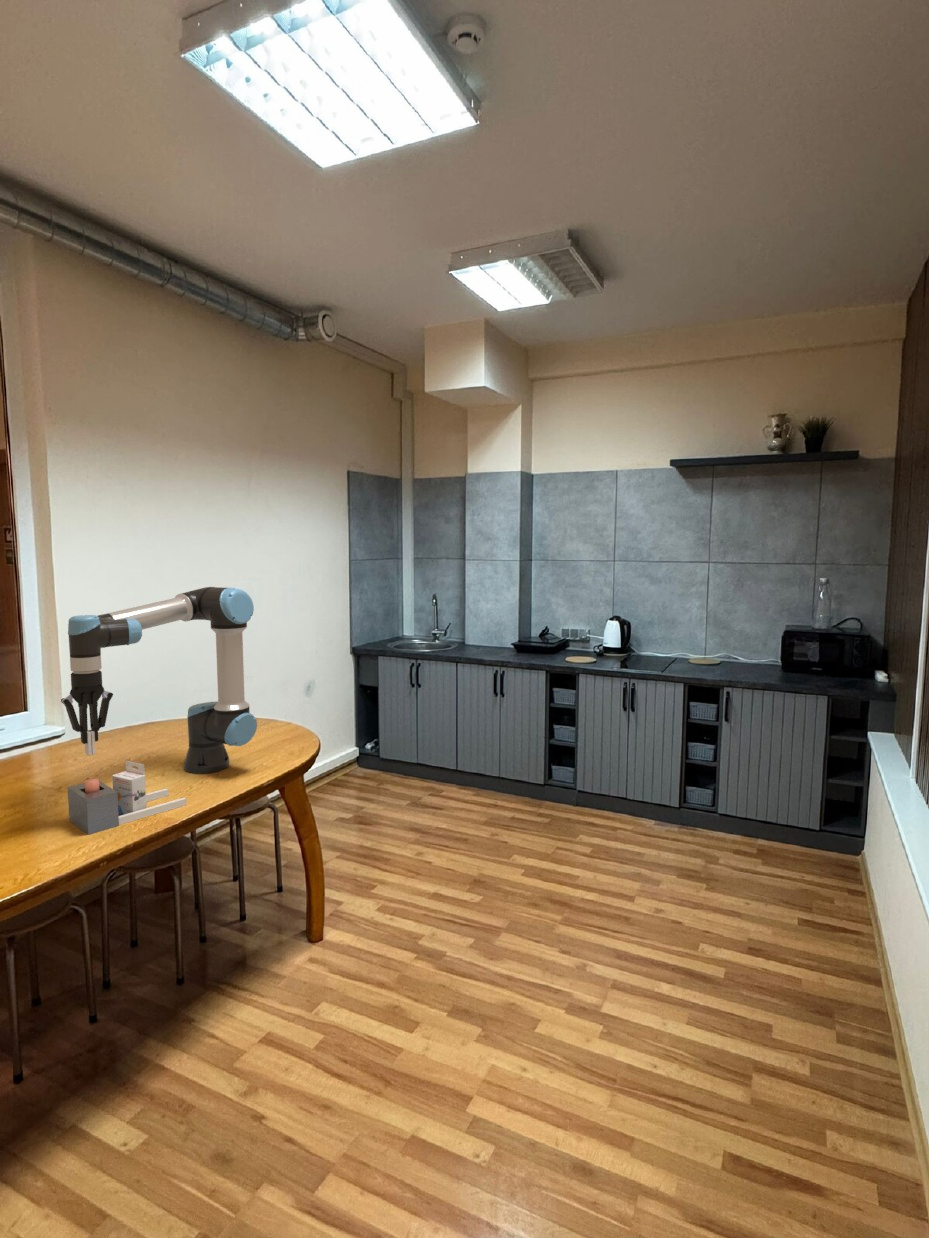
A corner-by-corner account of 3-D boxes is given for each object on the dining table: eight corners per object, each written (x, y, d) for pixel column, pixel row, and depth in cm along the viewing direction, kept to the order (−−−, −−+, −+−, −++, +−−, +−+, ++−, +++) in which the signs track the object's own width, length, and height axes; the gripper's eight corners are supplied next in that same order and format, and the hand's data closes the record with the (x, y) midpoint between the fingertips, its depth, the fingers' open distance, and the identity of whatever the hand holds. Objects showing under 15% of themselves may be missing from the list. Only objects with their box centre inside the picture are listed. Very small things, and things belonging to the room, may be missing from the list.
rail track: (166, 794, 212) (166, 788, 212) (186, 804, 204) (186, 798, 203) (99, 812, 197) (99, 806, 197) (118, 825, 189) (117, 818, 188)
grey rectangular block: (99, 812, 197) (97, 779, 196) (118, 825, 188) (117, 791, 187) (69, 820, 191) (67, 786, 190) (88, 834, 182) (86, 799, 181)
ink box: (112, 813, 197) (110, 765, 195) (127, 807, 201) (125, 760, 200) (133, 818, 193) (131, 769, 192) (147, 812, 198) (145, 764, 196)
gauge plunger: (96, 794, 191) (96, 777, 191) (102, 797, 189) (101, 780, 189) (83, 797, 189) (82, 780, 188) (88, 801, 186) (87, 783, 186)
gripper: (106, 666, 192) (109, 745, 195) (54, 672, 182) (59, 756, 185) (116, 669, 187) (120, 751, 190) (64, 676, 177) (69, 762, 180)
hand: (90, 753), depth 187 cm, fingers closed
